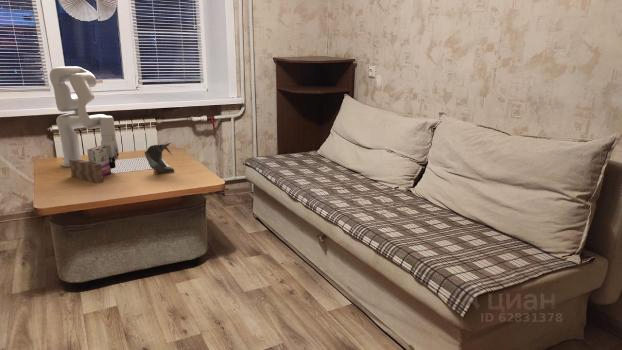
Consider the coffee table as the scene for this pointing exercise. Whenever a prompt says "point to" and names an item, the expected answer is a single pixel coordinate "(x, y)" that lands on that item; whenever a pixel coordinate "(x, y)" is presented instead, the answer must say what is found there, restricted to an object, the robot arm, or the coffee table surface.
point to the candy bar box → (100, 158)
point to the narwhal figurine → (157, 158)
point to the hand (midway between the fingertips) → (112, 167)
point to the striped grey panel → (86, 170)
